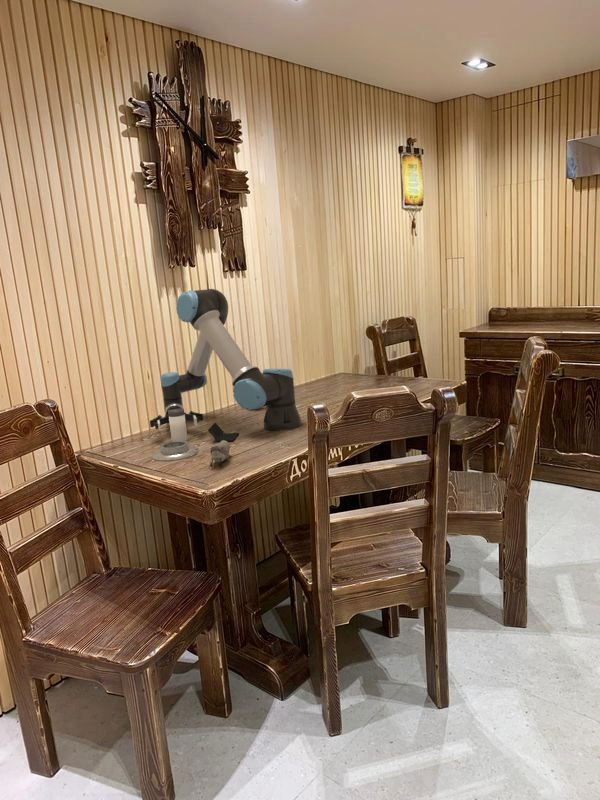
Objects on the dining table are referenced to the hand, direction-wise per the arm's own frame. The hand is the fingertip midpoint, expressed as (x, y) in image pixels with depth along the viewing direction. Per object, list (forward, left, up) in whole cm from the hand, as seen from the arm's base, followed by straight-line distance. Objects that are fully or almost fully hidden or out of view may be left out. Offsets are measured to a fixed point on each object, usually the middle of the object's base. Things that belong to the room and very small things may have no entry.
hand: (177, 424), depth 225 cm
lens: (+2, -2, -7) cm, 7 cm away
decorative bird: (-31, +19, -7) cm, 37 cm away
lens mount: (-8, +14, -7) cm, 18 cm away
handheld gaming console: (-15, -7, -7) cm, 18 cm away
